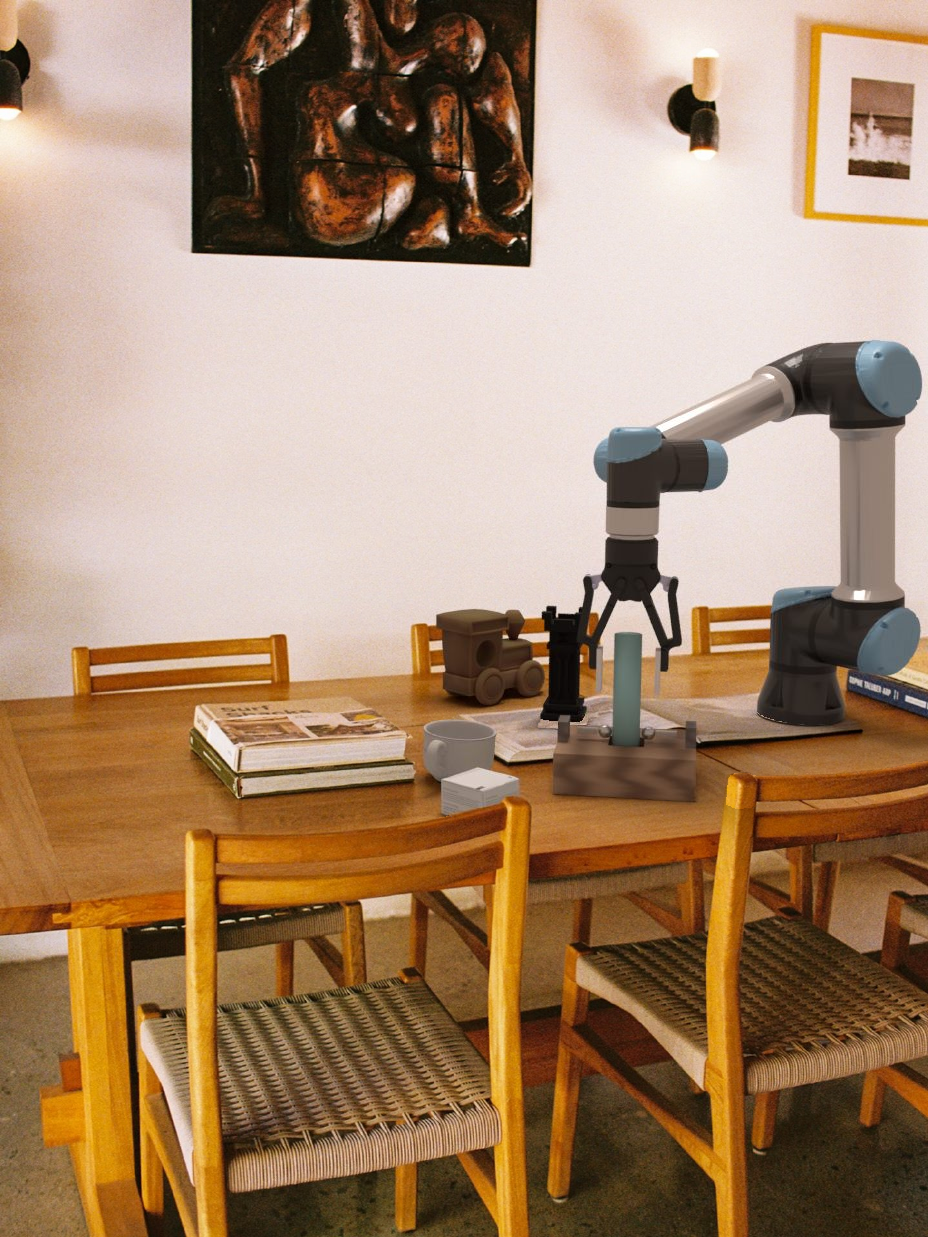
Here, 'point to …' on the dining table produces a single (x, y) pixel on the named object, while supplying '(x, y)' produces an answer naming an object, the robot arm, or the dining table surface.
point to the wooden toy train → (487, 655)
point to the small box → (476, 790)
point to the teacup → (457, 747)
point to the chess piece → (563, 666)
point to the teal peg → (627, 689)
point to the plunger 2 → (657, 733)
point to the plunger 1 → (596, 730)
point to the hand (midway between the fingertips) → (627, 691)
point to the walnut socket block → (625, 765)
